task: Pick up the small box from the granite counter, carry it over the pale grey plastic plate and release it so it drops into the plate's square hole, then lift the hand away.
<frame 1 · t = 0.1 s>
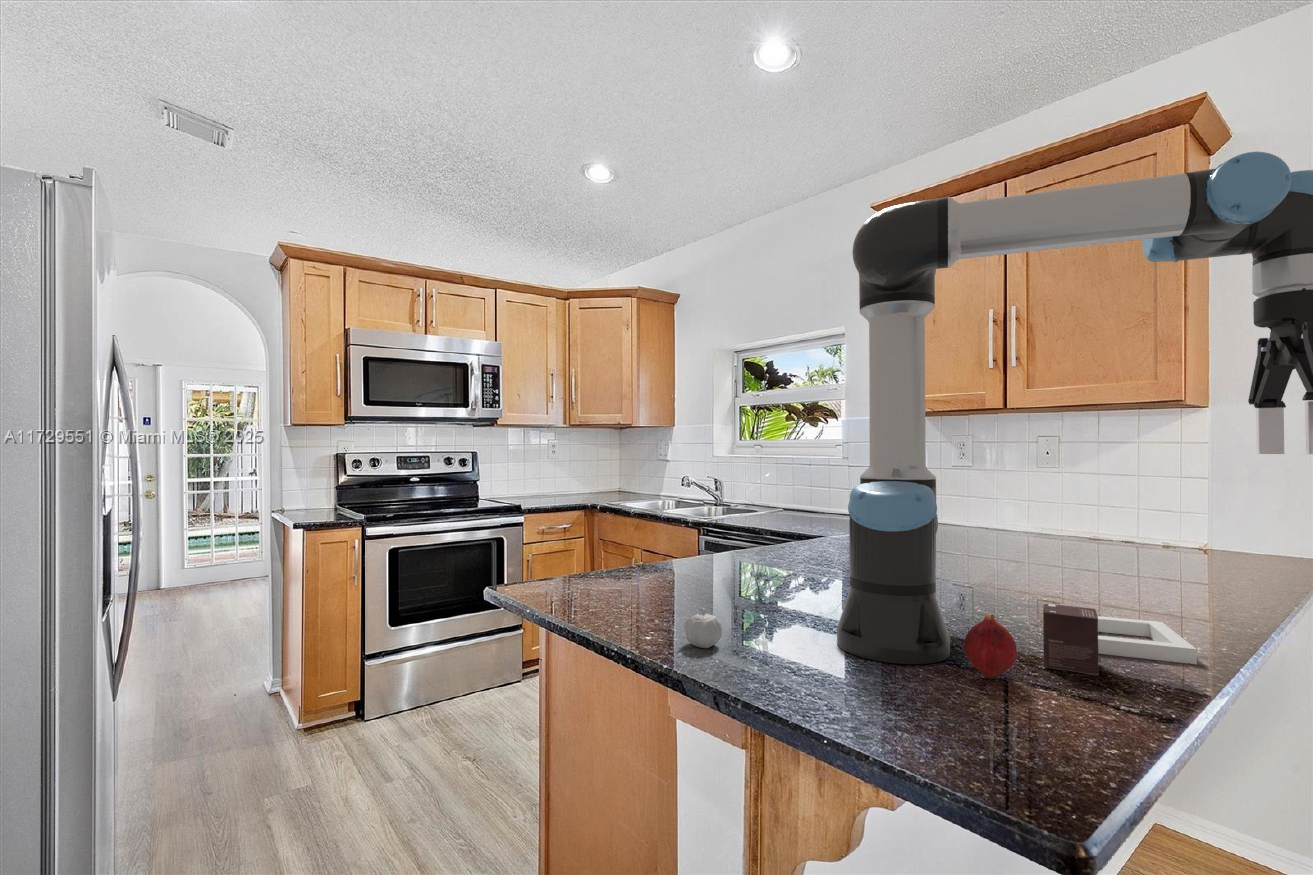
hand: (1294, 454, 85), 28 cm above the countertop, fingers open, 13 cm apart
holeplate: (1115, 642, 95), on the countertop
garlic: (703, 647, 93), on the countertop
box: (1070, 667, 85), on the countertop
onion: (990, 680, 80), on the countertop
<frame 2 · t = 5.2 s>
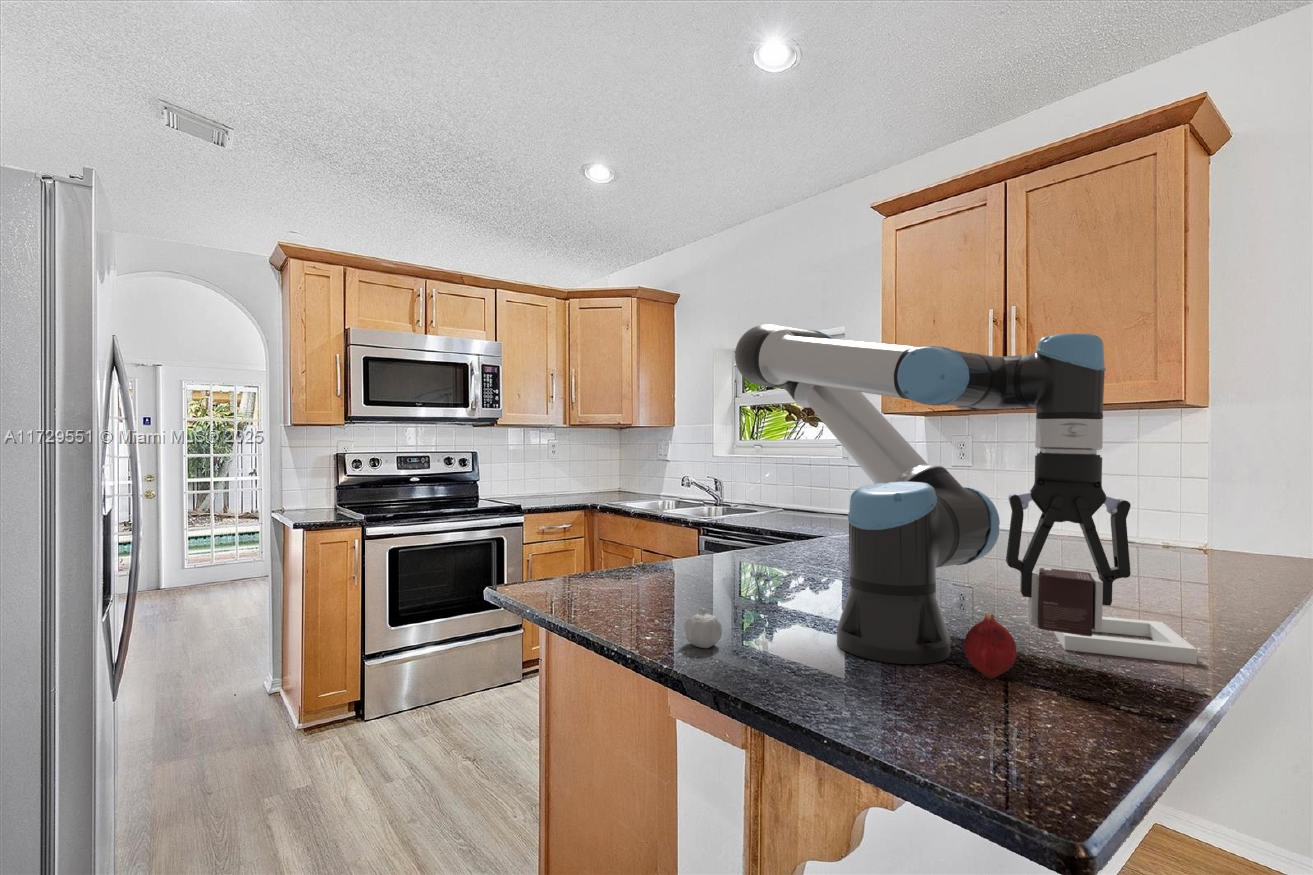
hand: (1064, 625, 85), 5 cm above the countertop, fingers closed on box, 6 cm apart
box: (1064, 630, 85), point 4 cm above the countertop, touching gripper
everything else where it was.
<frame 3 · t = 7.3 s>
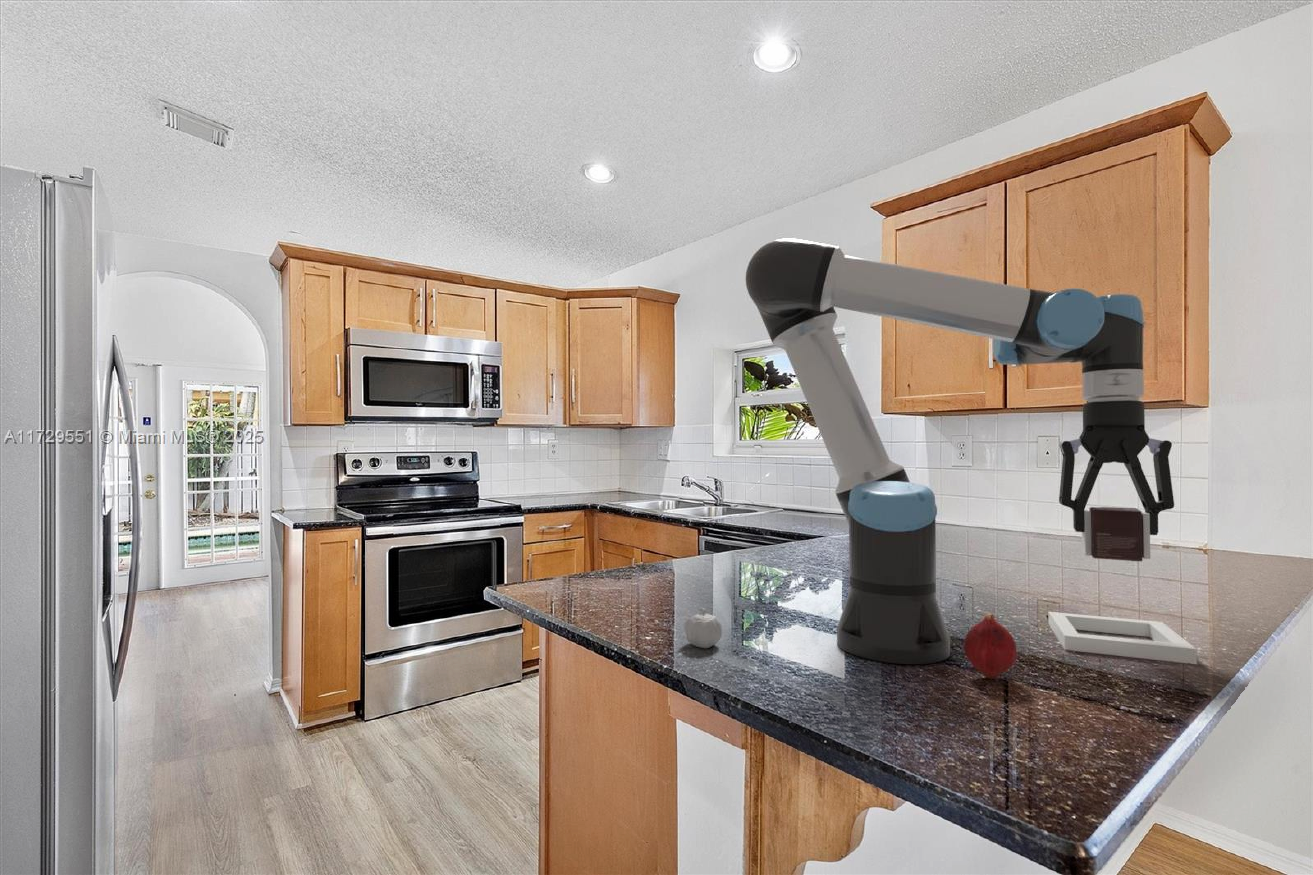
hand: (1115, 555, 95), 13 cm above the countertop, fingers closed on box, 6 cm apart
box: (1115, 559, 95), point 12 cm above the countertop, touching gripper
everything else where it was.
when the fingers open (2 cm above the countertop, at t = 9.4 s): box drops 2 cm, resting in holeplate.
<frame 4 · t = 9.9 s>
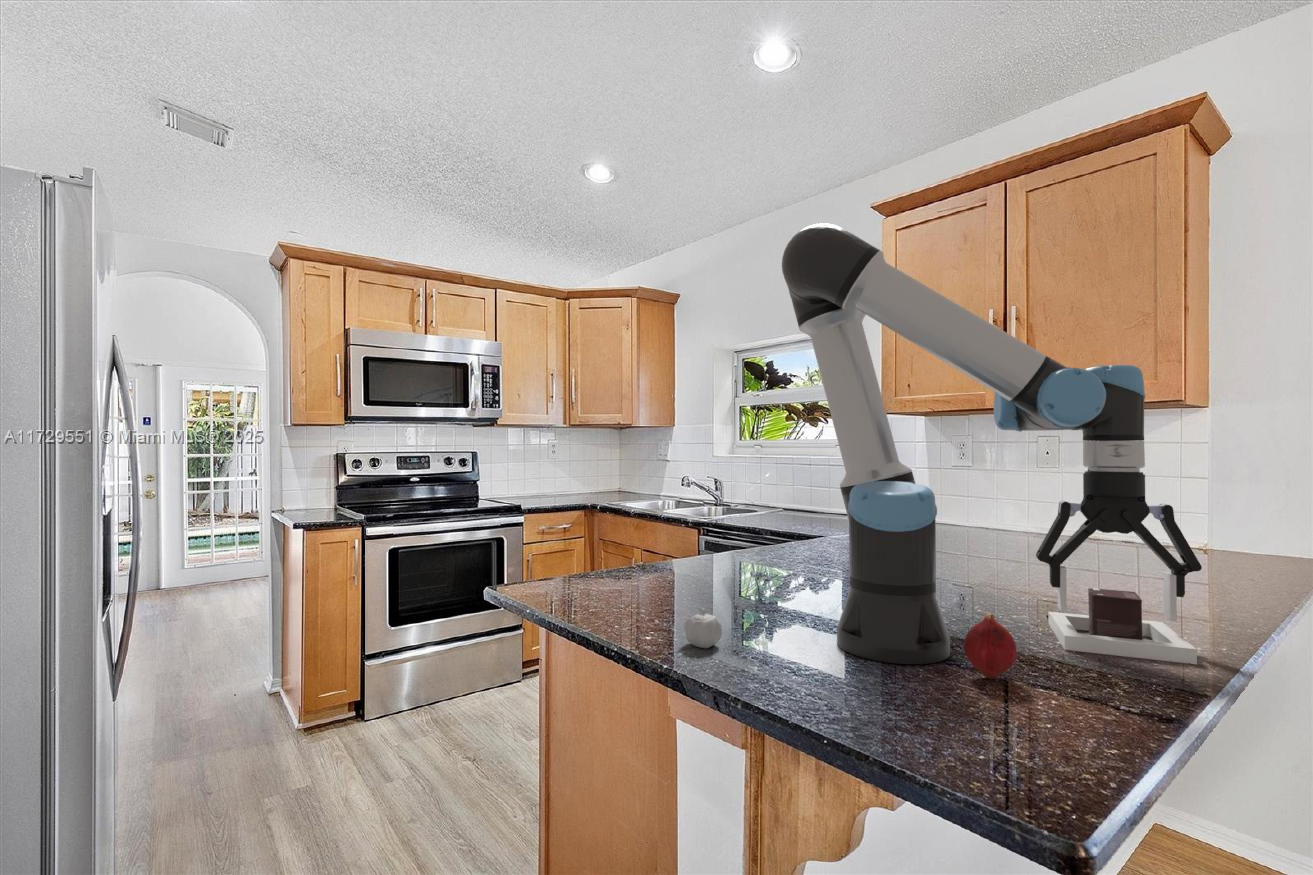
hand: (1114, 614, 95), 4 cm above the countertop, fingers open, 13 cm apart
box: (1114, 644, 95), resting in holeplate
everything else where it was.
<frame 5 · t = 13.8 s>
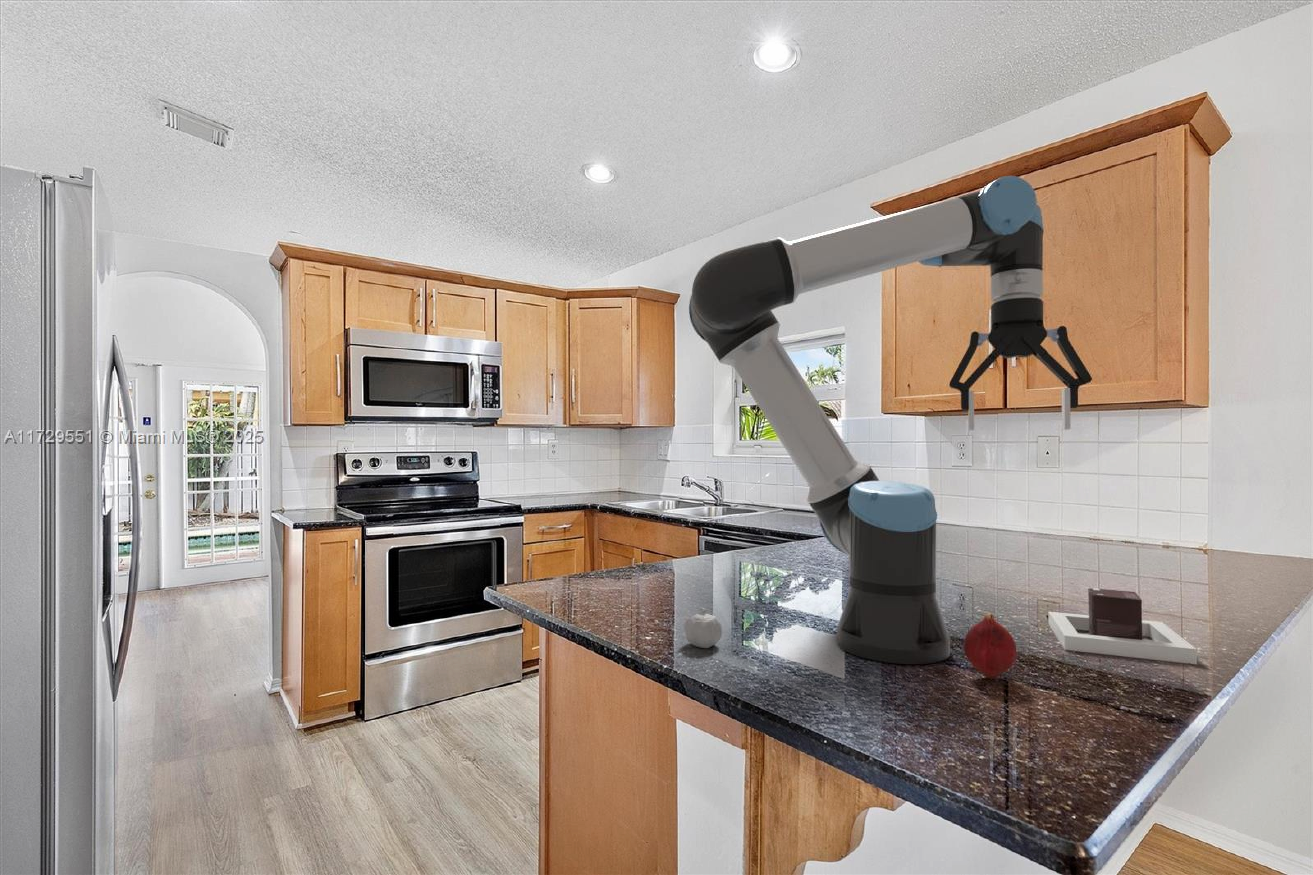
hand: (1017, 430, 105), 32 cm above the countertop, fingers open, 13 cm apart
nothing on the countertop moved.
at the end: box inside the target area on the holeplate (0.1 cm from its centre), point 0.0 cm above the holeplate's base; box tilted 0°; the gripper is holding nothing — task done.
